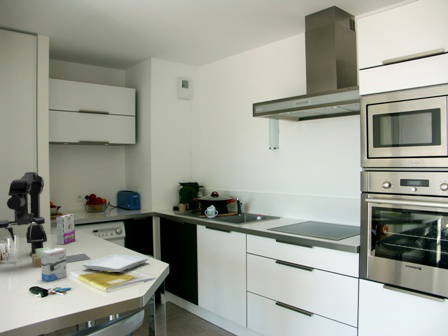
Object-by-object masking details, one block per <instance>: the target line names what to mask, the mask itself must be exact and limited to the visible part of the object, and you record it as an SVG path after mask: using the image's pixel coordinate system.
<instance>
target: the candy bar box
mask: <svg viewBox="0 0 448 336" xmlns="http://www.w3.org/2000/svg"><path fill="white" fill-rule="evenodd" d="M55 220H56V236H57V237H56V241H57V245H59V246H60V245H61V246H63V245H68V244H70V243H74V242H75V241H76V233H75V232H76V230H75V229H76V227H75V215H74V213H72V214H69V213H68V214H63V215H60V216H56V219H55Z"/></svg>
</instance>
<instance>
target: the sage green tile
mask: <svg viewBox="0 0 448 336" xmlns="http://www.w3.org/2000/svg"><path fill="white" fill-rule="evenodd" d="M50 249H51V248H50V246H47V247H43V248H39V249H36V255H37V257H38V258H41V252H42V251H45V250H50Z"/></svg>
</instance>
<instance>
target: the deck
mask: <svg viewBox="0 0 448 336" xmlns="http://www.w3.org/2000/svg"><path fill="white" fill-rule="evenodd" d="M31 263H32V265H33V267H34V268H41V258H38V257H37V255H36V254H32V255H31Z"/></svg>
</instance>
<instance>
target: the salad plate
mask: <svg viewBox="0 0 448 336" xmlns="http://www.w3.org/2000/svg"><path fill="white" fill-rule="evenodd" d="M148 260H149V257H146V256H140V255H132V254H119V253H113V254H109V255H107V256H104V257H103V256H102V257H101V258H97V259H94V260H90V261H87V262H85V263H82V267H84V268H86V269H89V270H92V271H95V270H100V271H99V272H102V271H111V272H120V273H122V272H121V271H123V272H125V271H124V270H126V269H128V270H131V269H134V268H135V267H138V266H141V265H143V264H144V263H146V262H147V261H148ZM126 271H127V270H126Z"/></svg>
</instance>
